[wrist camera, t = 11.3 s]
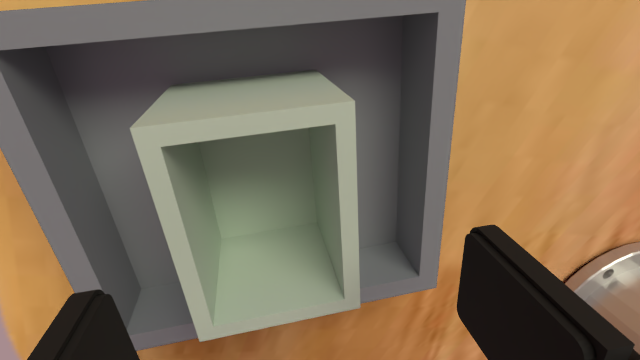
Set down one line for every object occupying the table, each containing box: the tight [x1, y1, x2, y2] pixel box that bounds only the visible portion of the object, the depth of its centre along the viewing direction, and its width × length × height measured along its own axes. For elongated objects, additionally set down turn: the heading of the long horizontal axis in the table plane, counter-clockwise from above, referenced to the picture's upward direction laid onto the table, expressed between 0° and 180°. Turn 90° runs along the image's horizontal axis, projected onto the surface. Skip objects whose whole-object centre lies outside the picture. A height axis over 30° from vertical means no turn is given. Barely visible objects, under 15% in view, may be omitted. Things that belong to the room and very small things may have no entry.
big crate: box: [0, 0, 466, 351], centre depth 16 cm, size 16×14×4 cm
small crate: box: [130, 70, 360, 342], centre depth 14 cm, size 6×8×6 cm
